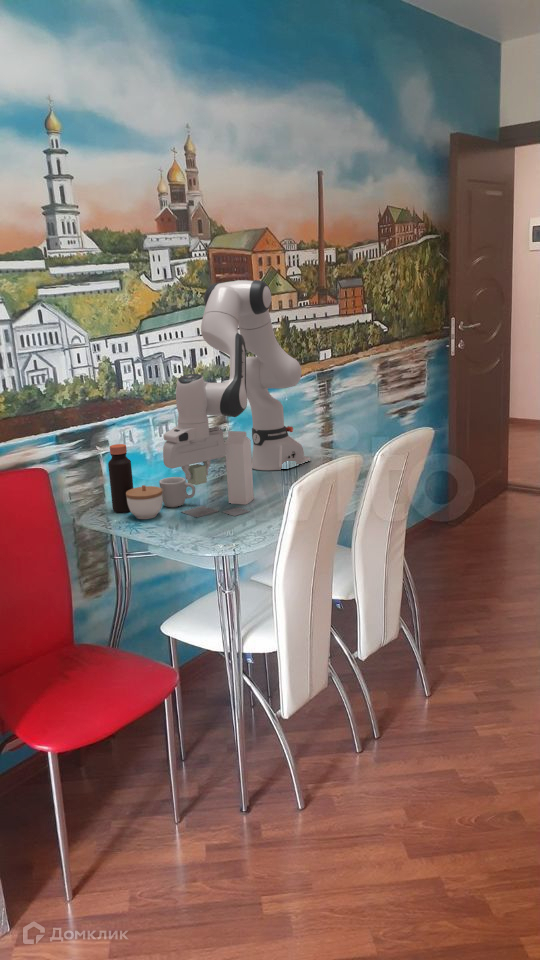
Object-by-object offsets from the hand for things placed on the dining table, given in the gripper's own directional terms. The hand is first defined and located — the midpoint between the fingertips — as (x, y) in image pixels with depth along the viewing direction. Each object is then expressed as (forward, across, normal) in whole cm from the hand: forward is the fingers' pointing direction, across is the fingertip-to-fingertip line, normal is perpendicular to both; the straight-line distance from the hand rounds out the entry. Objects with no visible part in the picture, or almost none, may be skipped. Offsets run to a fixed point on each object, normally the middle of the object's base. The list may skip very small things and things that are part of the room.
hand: (197, 477), depth 244 cm
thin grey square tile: (+11, 0, 0) cm, 11 cm away
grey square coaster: (+11, -7, +8) cm, 15 cm away
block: (+2, 0, 0) cm, 2 cm away
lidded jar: (+11, +13, -9) cm, 19 cm away
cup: (+11, 0, -11) cm, 16 cm away
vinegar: (+11, +14, -20) cm, 27 cm away
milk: (+11, -15, +1) cm, 19 cm away
